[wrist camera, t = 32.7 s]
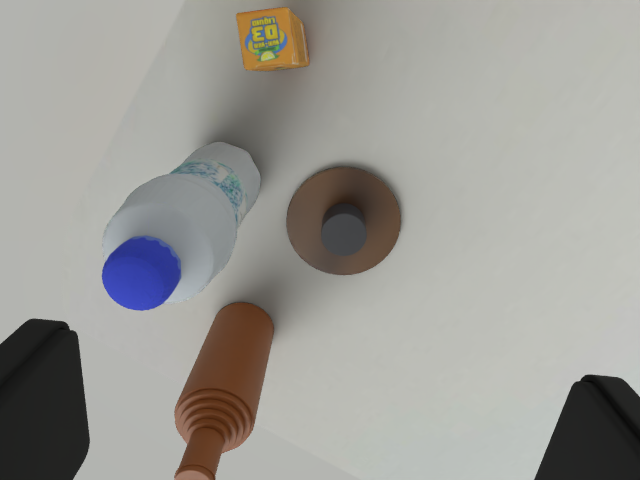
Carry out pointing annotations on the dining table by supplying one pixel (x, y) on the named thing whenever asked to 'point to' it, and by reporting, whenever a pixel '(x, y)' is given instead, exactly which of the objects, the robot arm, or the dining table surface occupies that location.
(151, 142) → the dining table surface
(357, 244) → the cap
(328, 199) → the coaster
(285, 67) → the supplement box
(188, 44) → the dining table surface
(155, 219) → the bottle
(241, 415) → the sauce bottle
